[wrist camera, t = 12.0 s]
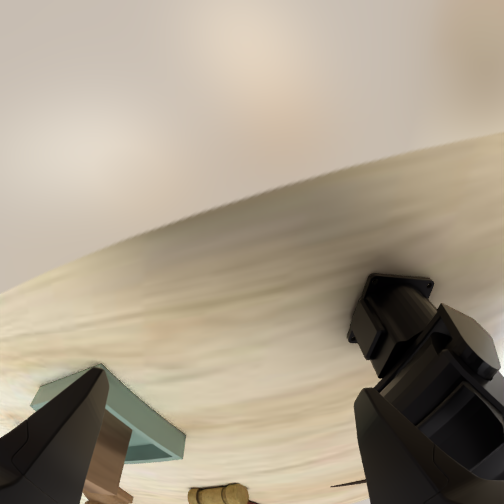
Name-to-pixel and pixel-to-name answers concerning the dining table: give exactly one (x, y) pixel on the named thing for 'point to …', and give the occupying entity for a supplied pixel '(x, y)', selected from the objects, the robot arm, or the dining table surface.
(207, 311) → the dining table surface
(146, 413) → the box
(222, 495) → the gavel
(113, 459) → the walnut block
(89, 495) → the candle holder
